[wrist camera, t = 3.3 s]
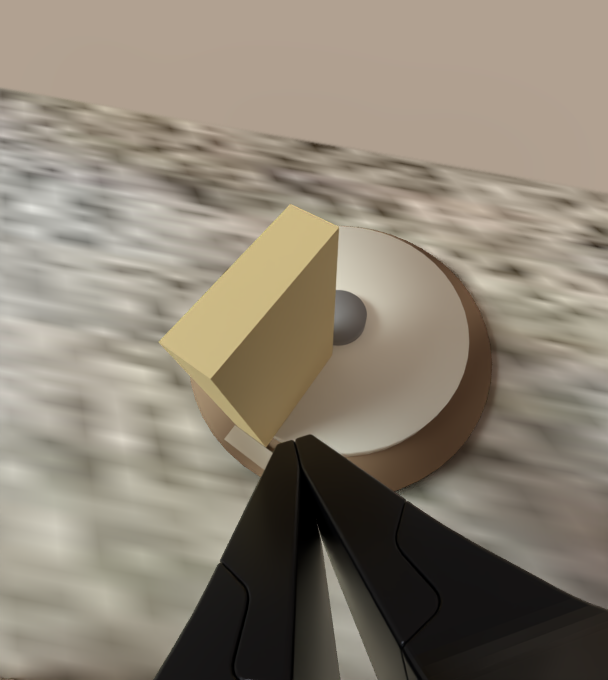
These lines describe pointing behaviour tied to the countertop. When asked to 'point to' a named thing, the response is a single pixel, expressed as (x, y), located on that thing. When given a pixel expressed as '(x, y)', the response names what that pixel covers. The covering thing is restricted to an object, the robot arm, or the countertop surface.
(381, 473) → the base
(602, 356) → the countertop surface
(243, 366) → the dial
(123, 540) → the countertop surface
